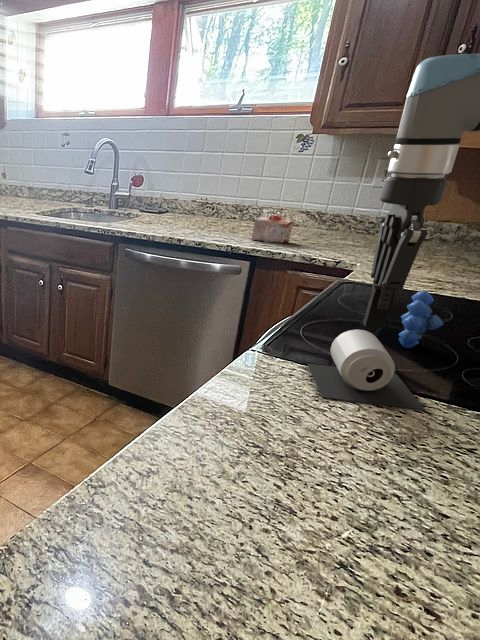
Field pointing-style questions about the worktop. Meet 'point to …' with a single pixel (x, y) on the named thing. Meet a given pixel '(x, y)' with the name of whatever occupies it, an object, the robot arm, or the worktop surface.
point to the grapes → (418, 319)
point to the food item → (272, 229)
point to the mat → (337, 389)
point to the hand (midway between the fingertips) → (373, 325)
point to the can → (362, 360)
